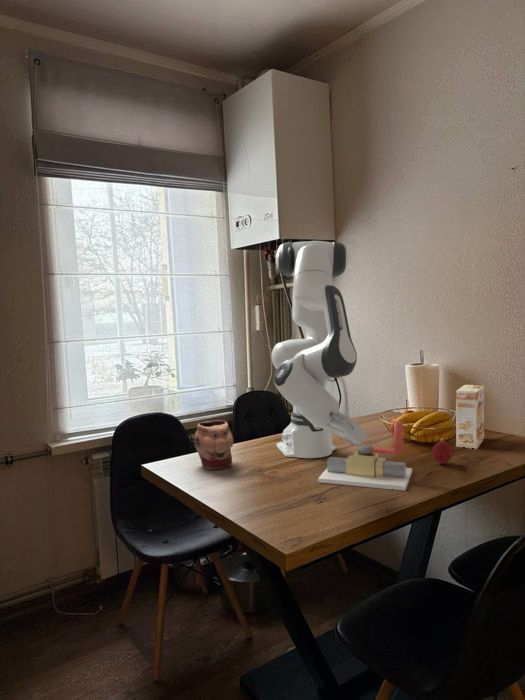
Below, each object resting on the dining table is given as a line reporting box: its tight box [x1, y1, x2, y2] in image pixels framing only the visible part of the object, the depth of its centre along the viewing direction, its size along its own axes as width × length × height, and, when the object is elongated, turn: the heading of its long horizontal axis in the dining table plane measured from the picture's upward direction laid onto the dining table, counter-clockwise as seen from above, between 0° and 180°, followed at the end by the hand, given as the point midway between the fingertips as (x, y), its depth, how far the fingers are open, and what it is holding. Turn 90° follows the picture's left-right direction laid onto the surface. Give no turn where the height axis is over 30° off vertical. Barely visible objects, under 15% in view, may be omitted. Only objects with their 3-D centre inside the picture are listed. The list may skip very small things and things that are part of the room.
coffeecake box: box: [455, 384, 485, 450], centre depth 181 cm, size 15×7×20 cm, turn 148°
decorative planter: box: [193, 420, 235, 470], centre depth 168 cm, size 20×12×14 cm, turn 28°
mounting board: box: [317, 467, 413, 492], centre depth 150 cm, size 24×16×1 cm, turn 68°
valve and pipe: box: [326, 448, 407, 478], centre depth 150 cm, size 22×6×7 cm, turn 68°
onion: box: [431, 437, 453, 465], centre depth 159 cm, size 6×6×8 cm
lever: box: [357, 420, 404, 456], centre depth 147 cm, size 13×4×9 cm, turn 63°
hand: (354, 441), depth 140 cm, fingers closed
